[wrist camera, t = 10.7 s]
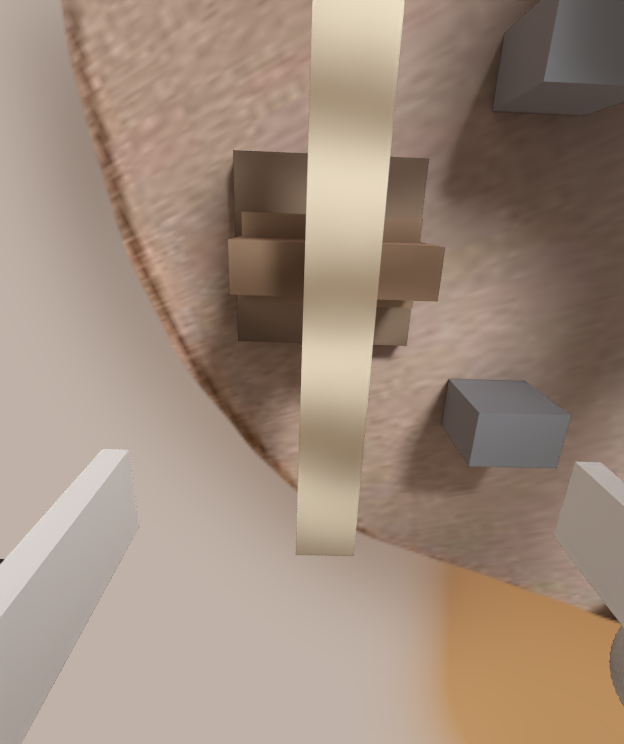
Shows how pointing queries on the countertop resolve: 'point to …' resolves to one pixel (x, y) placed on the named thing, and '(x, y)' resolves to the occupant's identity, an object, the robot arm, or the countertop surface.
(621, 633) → the cereal bowl
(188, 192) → the countertop surface
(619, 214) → the countertop surface
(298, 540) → the wooden bar
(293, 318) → the ridge stand
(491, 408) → the bar rest
